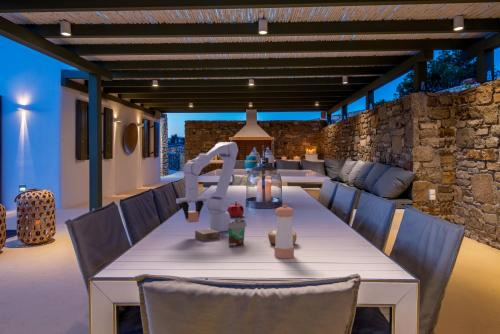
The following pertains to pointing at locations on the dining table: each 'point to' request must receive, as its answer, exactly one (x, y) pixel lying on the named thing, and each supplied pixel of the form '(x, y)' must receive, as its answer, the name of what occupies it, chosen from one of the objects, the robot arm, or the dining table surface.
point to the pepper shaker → (284, 233)
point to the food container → (236, 232)
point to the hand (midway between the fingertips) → (192, 218)
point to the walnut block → (207, 234)
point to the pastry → (273, 234)
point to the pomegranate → (235, 210)
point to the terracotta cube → (192, 216)
